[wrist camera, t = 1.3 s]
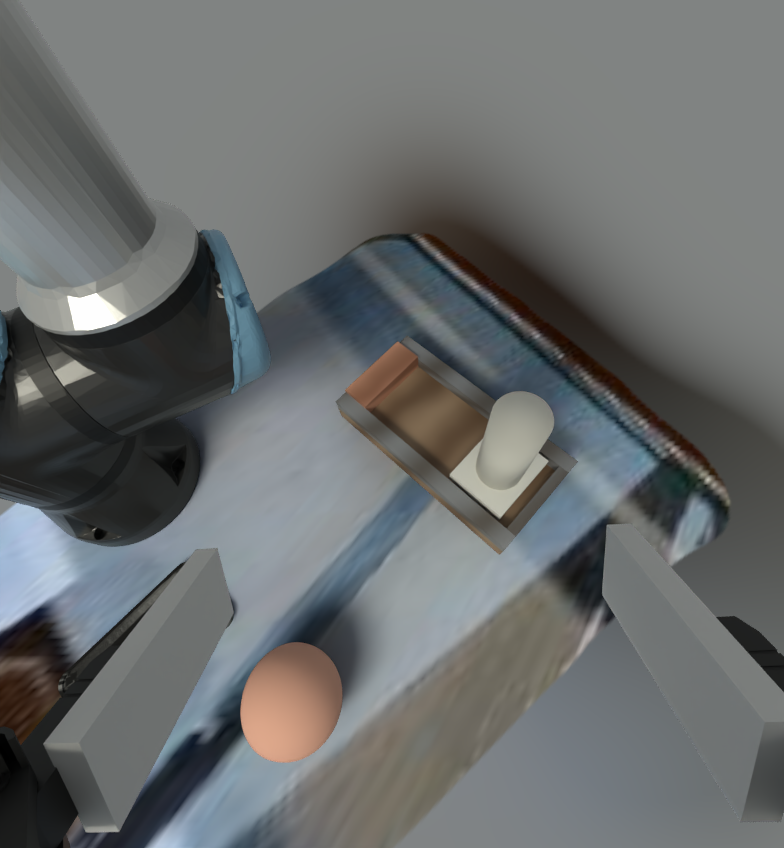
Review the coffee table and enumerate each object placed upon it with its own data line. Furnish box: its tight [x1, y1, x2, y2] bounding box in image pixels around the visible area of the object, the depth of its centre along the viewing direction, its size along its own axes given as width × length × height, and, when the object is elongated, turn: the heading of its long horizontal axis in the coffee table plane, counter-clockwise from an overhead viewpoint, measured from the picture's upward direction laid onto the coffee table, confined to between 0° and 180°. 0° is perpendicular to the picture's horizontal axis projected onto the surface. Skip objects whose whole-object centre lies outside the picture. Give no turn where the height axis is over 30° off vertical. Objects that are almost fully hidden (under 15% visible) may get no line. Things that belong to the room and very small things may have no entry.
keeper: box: [449, 391, 554, 521], centre depth 37 cm, size 6×7×12 cm
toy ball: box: [241, 642, 342, 762], centre depth 34 cm, size 8×8×8 cm
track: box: [336, 336, 578, 554], centre depth 45 cm, size 22×11×4 cm, turn 46°
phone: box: [58, 562, 233, 698], centre depth 40 cm, size 8×1×15 cm
